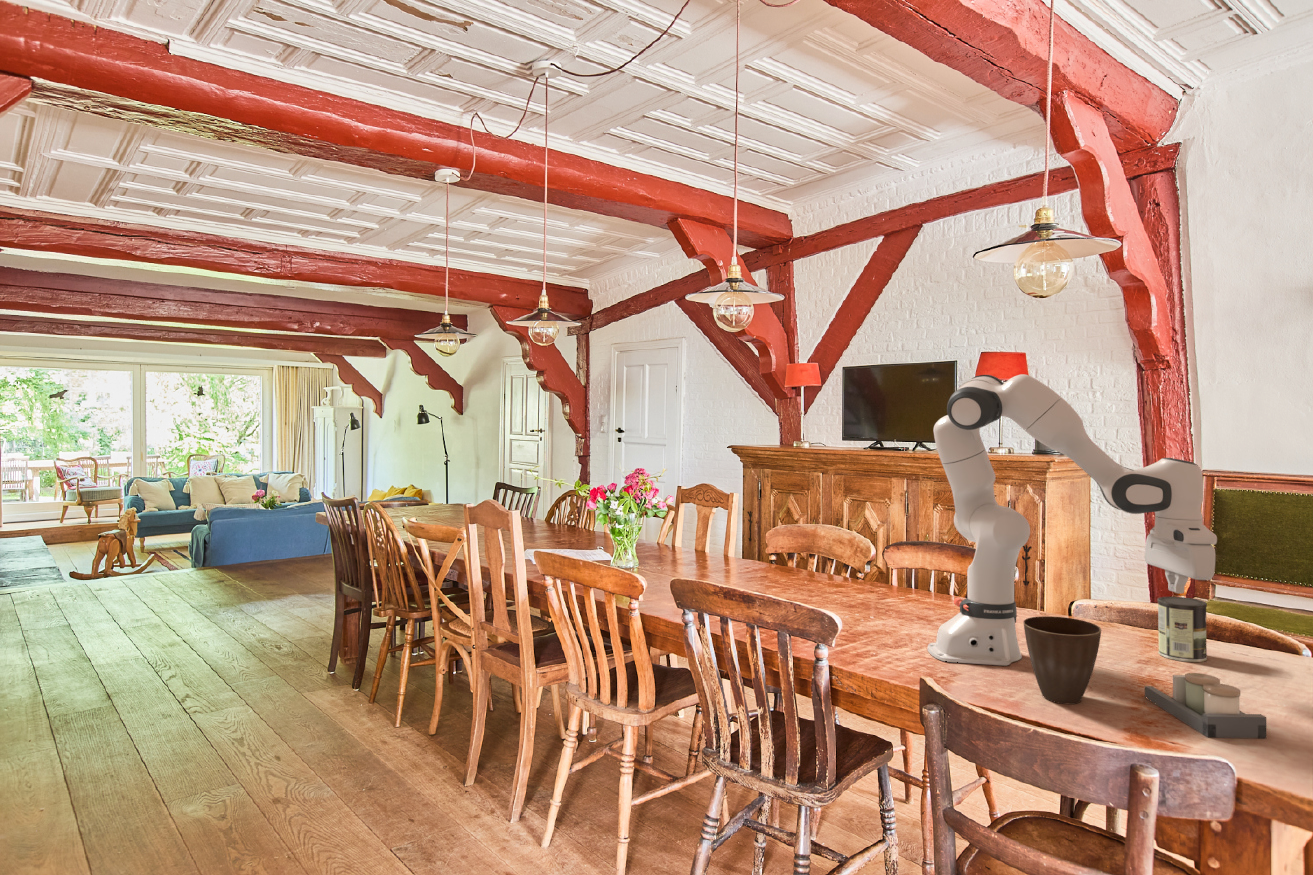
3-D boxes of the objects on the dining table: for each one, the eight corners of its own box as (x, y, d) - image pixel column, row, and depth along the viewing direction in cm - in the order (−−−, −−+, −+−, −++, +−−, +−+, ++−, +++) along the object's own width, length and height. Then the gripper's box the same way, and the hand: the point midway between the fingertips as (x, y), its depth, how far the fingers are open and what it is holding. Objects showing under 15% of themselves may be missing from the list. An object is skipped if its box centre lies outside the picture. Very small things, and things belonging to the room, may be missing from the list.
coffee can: (1194, 650, 196) (1194, 596, 196) (1215, 663, 186) (1215, 606, 186) (1150, 649, 199) (1150, 595, 198) (1168, 661, 188) (1168, 604, 188)
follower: (1176, 710, 156) (1176, 676, 156) (1166, 704, 160) (1165, 671, 160) (1211, 711, 156) (1211, 677, 156) (1199, 704, 159) (1199, 671, 159)
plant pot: (1118, 707, 159) (1118, 631, 159) (1057, 714, 156) (1056, 636, 156) (1066, 683, 174) (1065, 614, 173) (1008, 689, 171) (1008, 618, 170)
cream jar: (1215, 734, 145) (1215, 693, 145) (1196, 722, 151) (1196, 682, 150) (1247, 735, 144) (1247, 693, 144) (1227, 723, 150) (1227, 682, 150)
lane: (1207, 737, 144) (1207, 716, 143) (1144, 697, 164) (1144, 679, 164) (1266, 738, 143) (1266, 717, 143) (1195, 697, 164) (1195, 679, 164)
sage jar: (1178, 711, 156) (1178, 672, 156) (1207, 711, 156) (1207, 673, 156) (1196, 722, 151) (1196, 682, 150) (1227, 722, 150) (1227, 682, 150)
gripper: (1137, 524, 181) (1135, 581, 181) (1191, 536, 160) (1188, 601, 161) (1165, 524, 180) (1163, 582, 181) (1222, 537, 160) (1220, 603, 160)
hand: (1176, 592), depth 171 cm, fingers closed
